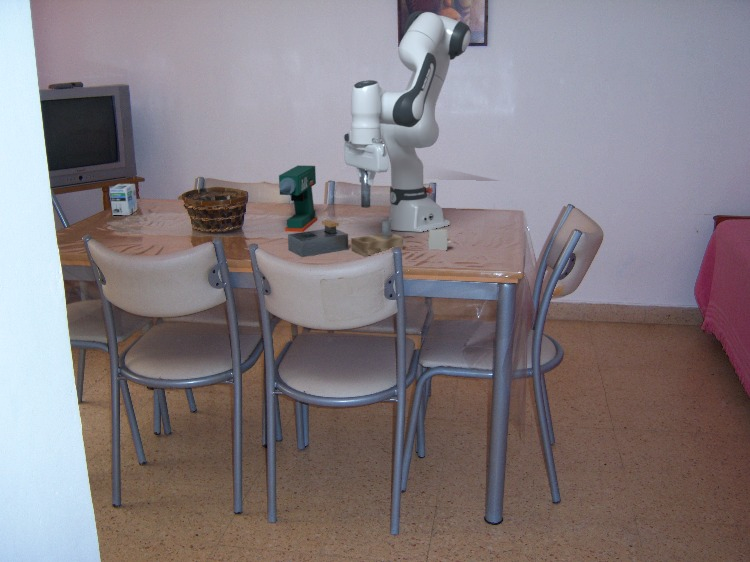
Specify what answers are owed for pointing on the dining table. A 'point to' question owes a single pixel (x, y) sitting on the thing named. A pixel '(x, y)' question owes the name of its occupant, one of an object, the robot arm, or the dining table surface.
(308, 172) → the power tool
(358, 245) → the rack
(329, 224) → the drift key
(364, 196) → the bit
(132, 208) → the light bulb box
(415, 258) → the dining table surface
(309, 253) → the socket block
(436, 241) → the pale grey square block
